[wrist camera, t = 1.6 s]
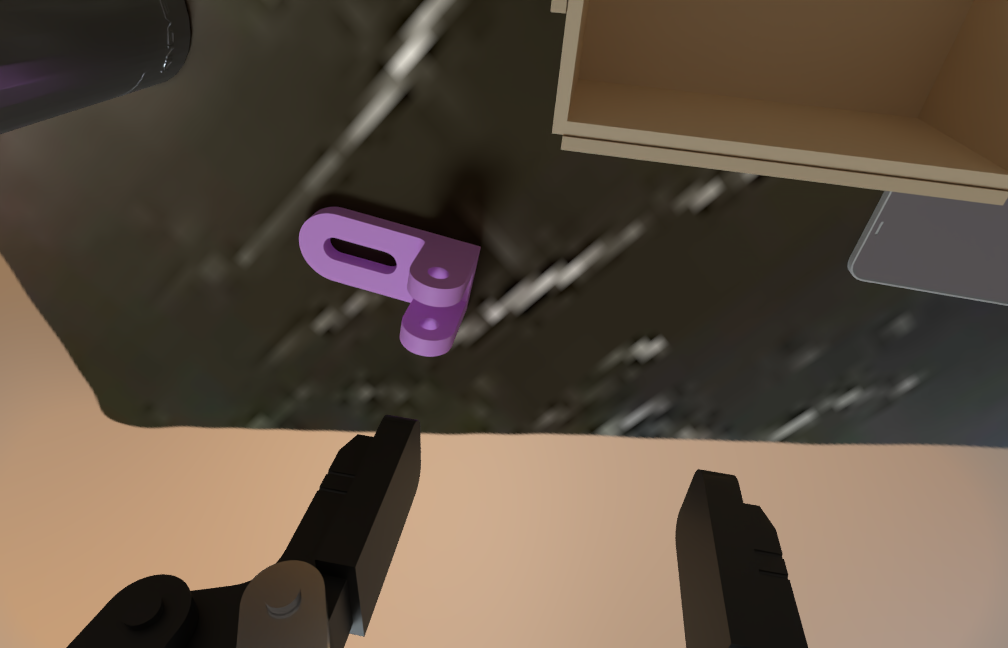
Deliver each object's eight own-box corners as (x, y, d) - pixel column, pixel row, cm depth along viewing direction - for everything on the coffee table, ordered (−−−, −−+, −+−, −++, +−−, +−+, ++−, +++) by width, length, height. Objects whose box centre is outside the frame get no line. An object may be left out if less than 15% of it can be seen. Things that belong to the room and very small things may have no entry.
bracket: (481, 245, 41) (459, 295, 35) (467, 307, 44) (445, 362, 38) (308, 196, 41) (258, 238, 35) (306, 262, 44) (261, 310, 38)
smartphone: (1082, 319, 36) (843, 278, 37) (1072, 311, 37) (839, 272, 38) (1173, 211, 32) (902, 169, 33) (1160, 205, 33) (895, 163, 34)
